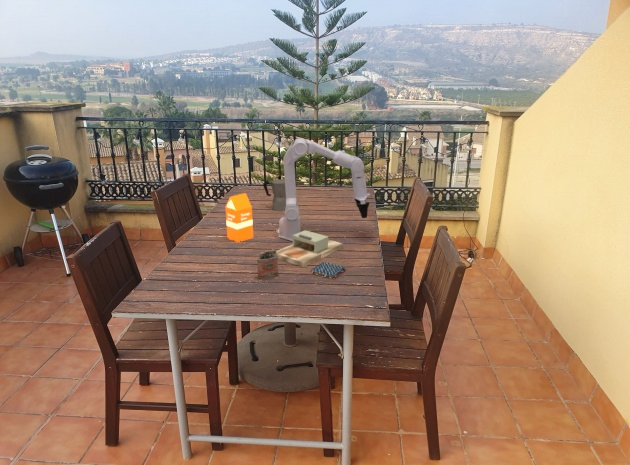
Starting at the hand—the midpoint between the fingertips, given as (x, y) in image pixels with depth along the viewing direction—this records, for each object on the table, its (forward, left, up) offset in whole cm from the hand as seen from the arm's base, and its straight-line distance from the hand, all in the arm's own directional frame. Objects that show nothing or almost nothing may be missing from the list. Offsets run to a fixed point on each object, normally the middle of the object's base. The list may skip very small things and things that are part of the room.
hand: (363, 215), depth 204 cm
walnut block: (-7, -28, -11) cm, 31 cm away
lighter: (-4, -56, -11) cm, 57 cm away
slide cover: (-7, -28, -8) cm, 30 cm away
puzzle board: (-7, -29, -11) cm, 32 cm away
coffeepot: (-60, +9, -11) cm, 62 cm away
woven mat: (+11, -39, -11) cm, 42 cm away
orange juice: (-42, -35, -11) cm, 56 cm away
